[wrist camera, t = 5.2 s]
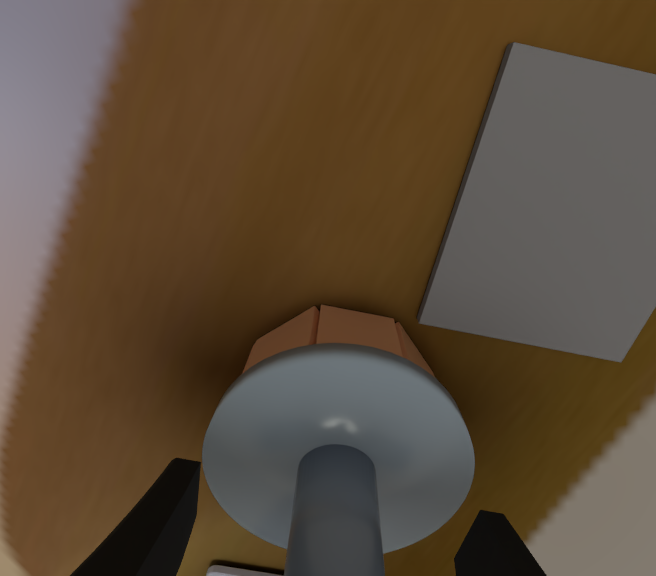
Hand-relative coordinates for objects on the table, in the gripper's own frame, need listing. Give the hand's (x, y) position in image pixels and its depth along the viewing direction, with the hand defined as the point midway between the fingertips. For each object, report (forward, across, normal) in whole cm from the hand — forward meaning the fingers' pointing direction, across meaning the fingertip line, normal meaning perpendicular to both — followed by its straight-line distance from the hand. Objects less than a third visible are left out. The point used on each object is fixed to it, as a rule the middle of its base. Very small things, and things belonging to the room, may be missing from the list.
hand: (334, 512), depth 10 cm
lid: (+2, 0, 0) cm, 2 cm away
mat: (+5, -6, -8) cm, 11 cm away
